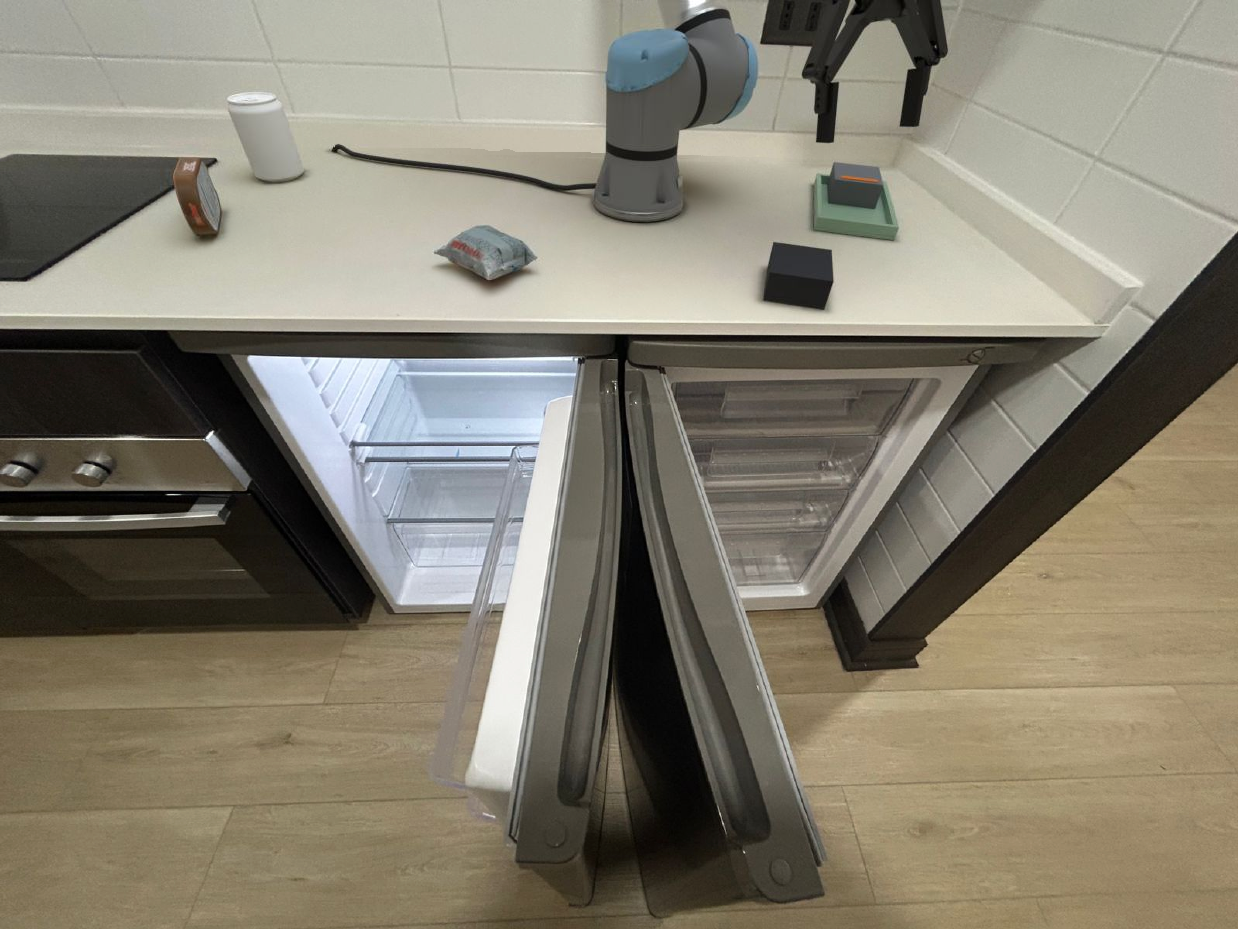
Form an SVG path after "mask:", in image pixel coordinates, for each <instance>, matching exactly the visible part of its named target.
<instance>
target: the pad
mask: <svg viewBox="0 0 1238 929" xmlns="http://www.w3.org/2000/svg"><path fill="white" fill-rule="evenodd" d="M829 175H830V177H829V180H828V184H827V190H828V203H830V204H838V205H846V206H854V207H862V208H870V209H875V208H876V205H877V202H878V199H879V197H880V194H881V191H882V188H883V181H884V180H883V177H882V173H881V169H880V167H879V166H873V165H864V164H854V163H847V162H838V161H833V163H832V167H831V170H830V174H829Z"/></svg>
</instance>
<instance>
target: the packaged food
mask: <svg viewBox="0 0 1238 929" xmlns="http://www.w3.org/2000/svg"><path fill="white" fill-rule="evenodd" d="M433 254H434V255H438V256H440V257H444V258H446V259H447V260H448V261H449V262H450V263H452V264H454V265H457V266H459V267H462V268H464V269H467V270H469V271H472V272H473V273H474V274H476V275H478V276H481V277H482V278H484V279H485V280H487V281H492V280H495V279H497V278H500V277H503V276H506V275H509V274H510V273H512V272H513V273H514V272H515V271H518V270H520V269H523V268H525V267H526V266H529V265H530V264H531V263H532V262H533V261H536V260H537V259H538V256H537V255H536V254H535V253H534V252H533V251H532V250H531V248H530V247H529V246H528V245H527V244H526V243H525V242H524V241H523V240H522V239H520V238H516V237H514V236H512V235H509V234H507V233H505V232H502V231H500V230H498V229H496V228H495V227H493V226H492V225H489V224H488V225H486V224H485V225H475V226H471V228H468V229H466V230H464V231H461V232H460V233H459V234H457V235H456V236H454V237H453V238H451V239H450V240H449V241H448V242H447V244H443V245H442V246H441V247H440V248H437V249H435V250H434V251H433Z"/></svg>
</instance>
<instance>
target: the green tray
mask: <svg viewBox="0 0 1238 929" xmlns="http://www.w3.org/2000/svg"><path fill="white" fill-rule="evenodd" d="M829 177H830V174H827V173H819V172H818V173H816V175H815V179H814V182H813V230H814V231H818V232H826V233H828V232H829V233H834V234H843V235H848V236H849V235H850V236H858V237H866V238H873V239H881V240H889V241H895V238H896V237H897V234H898V232H899V228H900V226H899V222H898V220H897V216H896V212H895V208H894V204H893V200H892V197H891V193H890V190H889V186H888V182H887V180H882V181H883V188H882V191H881V194H880V197H879V199H878V202H877V205H876V208H875V209H870V208H862V207H854V206H846V205H838V204H830V203H828V190H827V184H828V180H829Z"/></svg>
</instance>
